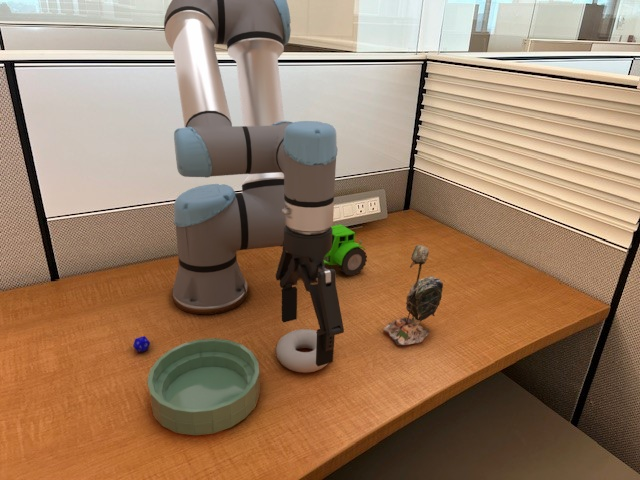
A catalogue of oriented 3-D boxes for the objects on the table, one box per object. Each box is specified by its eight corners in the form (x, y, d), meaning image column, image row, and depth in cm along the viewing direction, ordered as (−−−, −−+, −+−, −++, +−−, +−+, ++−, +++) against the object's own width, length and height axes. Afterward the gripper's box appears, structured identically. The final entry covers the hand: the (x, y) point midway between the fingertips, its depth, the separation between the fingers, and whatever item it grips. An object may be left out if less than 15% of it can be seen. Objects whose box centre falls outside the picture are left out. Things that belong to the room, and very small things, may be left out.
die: (143, 357, 83) (131, 346, 82) (140, 354, 85) (127, 343, 84) (155, 345, 84) (143, 334, 83) (151, 342, 86) (139, 331, 85)
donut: (312, 385, 78) (343, 352, 86) (313, 369, 77) (343, 337, 84) (264, 362, 83) (297, 333, 91) (263, 347, 81) (297, 318, 89)
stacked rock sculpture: (448, 340, 91) (465, 245, 82) (394, 350, 87) (406, 252, 79) (426, 316, 98) (440, 226, 89) (375, 325, 94) (385, 232, 86)
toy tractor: (288, 267, 115) (289, 229, 110) (343, 252, 123) (346, 216, 119) (313, 287, 106) (315, 247, 102) (370, 270, 115) (374, 232, 110)
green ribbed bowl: (142, 379, 78) (139, 354, 76) (239, 352, 85) (238, 329, 83) (163, 454, 65) (159, 427, 63) (275, 415, 72) (275, 389, 70)
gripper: (256, 203, 82) (258, 309, 91) (325, 263, 62) (320, 392, 71) (295, 198, 85) (294, 300, 94) (373, 253, 65) (363, 377, 74)
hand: (305, 340), depth 82 cm, fingers open, 13 cm apart
